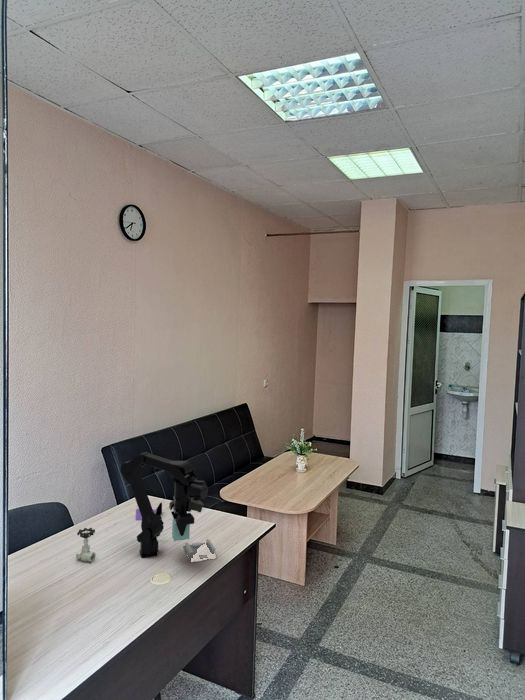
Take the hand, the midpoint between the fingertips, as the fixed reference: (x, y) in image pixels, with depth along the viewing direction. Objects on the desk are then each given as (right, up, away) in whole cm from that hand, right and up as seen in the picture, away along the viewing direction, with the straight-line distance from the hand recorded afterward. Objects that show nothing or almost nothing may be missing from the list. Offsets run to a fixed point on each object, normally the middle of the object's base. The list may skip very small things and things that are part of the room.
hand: (180, 533), depth 187 cm
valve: (-37, -11, -1) cm, 39 cm away
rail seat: (+6, -12, +9) cm, 16 cm away
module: (0, -2, 0) cm, 2 cm away
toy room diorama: (-22, -10, +41) cm, 48 cm away
